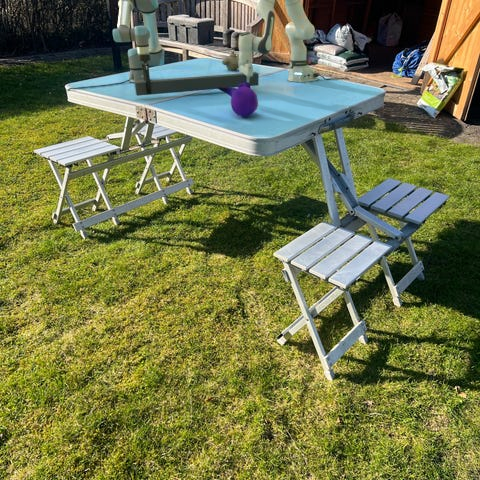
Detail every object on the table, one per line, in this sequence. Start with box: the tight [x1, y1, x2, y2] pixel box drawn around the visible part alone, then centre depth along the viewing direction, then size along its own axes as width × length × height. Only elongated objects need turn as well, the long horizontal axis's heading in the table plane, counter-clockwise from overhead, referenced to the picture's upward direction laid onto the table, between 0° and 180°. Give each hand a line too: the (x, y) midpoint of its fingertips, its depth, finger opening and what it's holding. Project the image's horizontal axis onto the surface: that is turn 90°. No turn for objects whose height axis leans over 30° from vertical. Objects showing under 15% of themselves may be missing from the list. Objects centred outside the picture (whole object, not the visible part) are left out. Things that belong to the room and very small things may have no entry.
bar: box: [133, 71, 259, 96], centre depth 293 cm, size 81×6×8 cm, turn 107°
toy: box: [216, 82, 259, 118], centre depth 249 cm, size 16×18×27 cm
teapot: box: [221, 50, 239, 72], centre depth 367 cm, size 21×12×15 cm, turn 120°
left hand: (148, 92), depth 286 cm, fingers closed on bar, 6 cm apart
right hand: (246, 81), depth 301 cm, fingers closed on bar, 5 cm apart
